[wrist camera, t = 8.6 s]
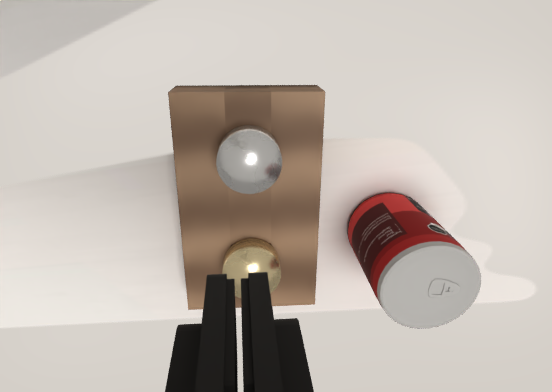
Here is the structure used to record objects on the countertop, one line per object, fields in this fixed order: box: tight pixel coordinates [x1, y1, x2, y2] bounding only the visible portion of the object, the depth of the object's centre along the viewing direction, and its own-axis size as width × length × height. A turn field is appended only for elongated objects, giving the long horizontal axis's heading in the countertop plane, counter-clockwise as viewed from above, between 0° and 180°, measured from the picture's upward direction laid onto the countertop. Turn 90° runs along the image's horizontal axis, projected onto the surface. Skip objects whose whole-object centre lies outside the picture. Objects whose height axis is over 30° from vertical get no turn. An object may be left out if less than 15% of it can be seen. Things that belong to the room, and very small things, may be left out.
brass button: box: [222, 239, 281, 298], centre depth 37 cm, size 5×5×6 cm
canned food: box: [348, 193, 481, 329], centre depth 36 cm, size 8×8×11 cm
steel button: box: [216, 125, 282, 194], centre depth 34 cm, size 5×5×6 cm
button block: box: [168, 85, 325, 310], centre depth 37 cm, size 20×12×4 cm, turn 0°
